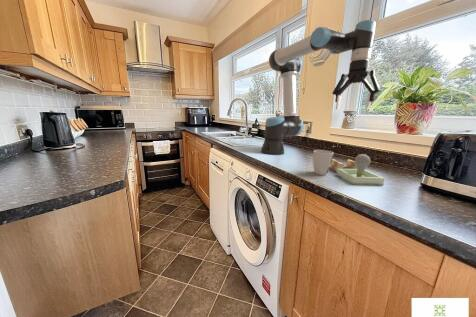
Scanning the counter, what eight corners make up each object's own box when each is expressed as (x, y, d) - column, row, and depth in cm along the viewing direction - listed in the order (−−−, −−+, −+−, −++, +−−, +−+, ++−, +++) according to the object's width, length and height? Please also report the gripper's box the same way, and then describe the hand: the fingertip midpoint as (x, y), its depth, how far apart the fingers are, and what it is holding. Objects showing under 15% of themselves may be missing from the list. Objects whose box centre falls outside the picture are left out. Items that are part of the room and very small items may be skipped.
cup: (332, 177, 83) (336, 154, 81) (312, 175, 84) (315, 152, 82) (327, 171, 91) (331, 150, 88) (309, 170, 92) (312, 149, 90)
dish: (336, 174, 86) (337, 168, 86) (363, 175, 87) (364, 169, 86) (352, 184, 75) (353, 177, 74) (383, 185, 75) (384, 178, 74)
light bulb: (354, 179, 78) (359, 155, 76) (349, 174, 83) (353, 152, 81) (369, 180, 77) (374, 156, 75) (363, 176, 82) (368, 153, 80)
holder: (329, 167, 97) (331, 158, 96) (348, 168, 98) (349, 159, 96) (339, 173, 88) (341, 163, 87) (359, 174, 88) (361, 164, 87)
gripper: (329, 64, 96) (323, 108, 101) (389, 53, 76) (378, 109, 81) (336, 66, 100) (330, 109, 105) (396, 56, 80) (385, 109, 85)
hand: (351, 109), depth 93 cm, fingers open, 13 cm apart
